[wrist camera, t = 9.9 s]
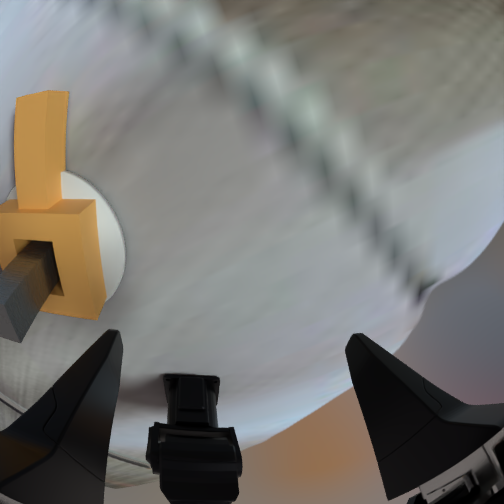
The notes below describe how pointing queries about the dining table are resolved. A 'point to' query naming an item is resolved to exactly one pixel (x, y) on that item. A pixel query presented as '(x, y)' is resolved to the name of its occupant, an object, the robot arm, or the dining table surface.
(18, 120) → the bracket
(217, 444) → the robot arm
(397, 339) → the dining table surface
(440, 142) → the dining table surface
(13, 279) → the dark grey post
